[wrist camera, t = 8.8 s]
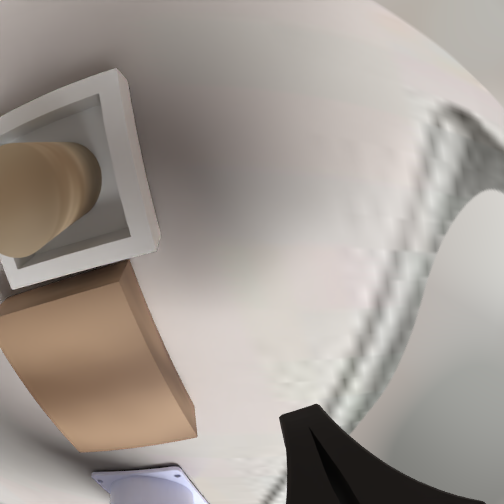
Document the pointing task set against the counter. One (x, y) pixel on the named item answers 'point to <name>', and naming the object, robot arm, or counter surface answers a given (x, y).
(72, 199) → the rounded wooden peg
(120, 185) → the cradle
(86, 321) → the walnut slab
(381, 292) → the counter surface
